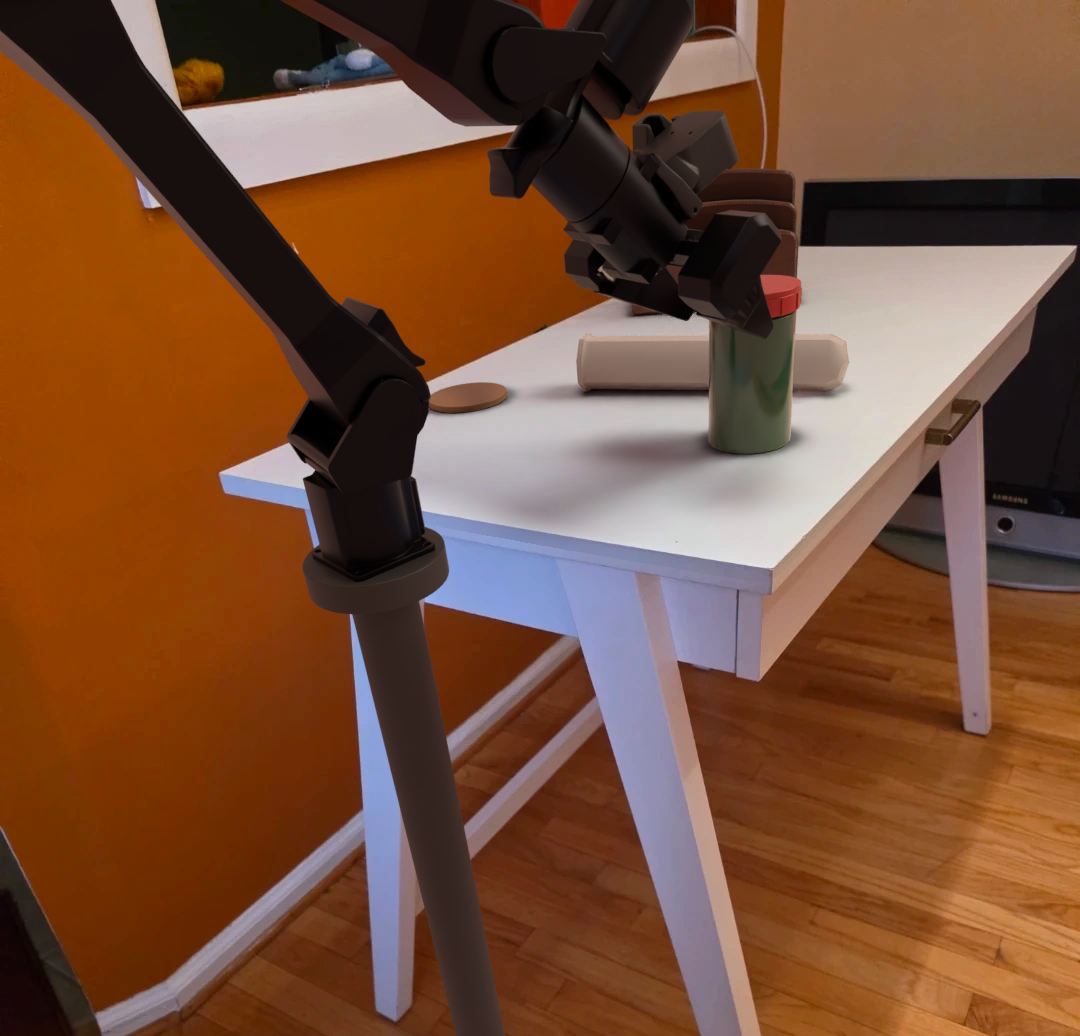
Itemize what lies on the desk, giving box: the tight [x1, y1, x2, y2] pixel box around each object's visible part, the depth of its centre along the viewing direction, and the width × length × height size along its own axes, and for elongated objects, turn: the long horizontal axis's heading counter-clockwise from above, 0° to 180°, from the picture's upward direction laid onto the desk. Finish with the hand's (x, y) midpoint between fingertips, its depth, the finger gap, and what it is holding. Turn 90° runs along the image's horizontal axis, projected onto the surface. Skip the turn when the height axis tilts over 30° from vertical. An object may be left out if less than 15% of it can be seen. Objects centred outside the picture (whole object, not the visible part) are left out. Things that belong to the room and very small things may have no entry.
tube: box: [575, 333, 850, 392], centre depth 89 cm, size 5×5×25 cm
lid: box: [760, 275, 803, 318], centre depth 72 cm, size 7×7×2 cm
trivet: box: [429, 381, 508, 414], centre depth 96 cm, size 8×8×1 cm
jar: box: [708, 309, 798, 455], centre depth 75 cm, size 7×7×11 cm
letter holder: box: [631, 167, 800, 316], centre depth 116 cm, size 10×20×14 cm, turn 81°
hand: (727, 323), depth 72 cm, fingers open, 9 cm apart
